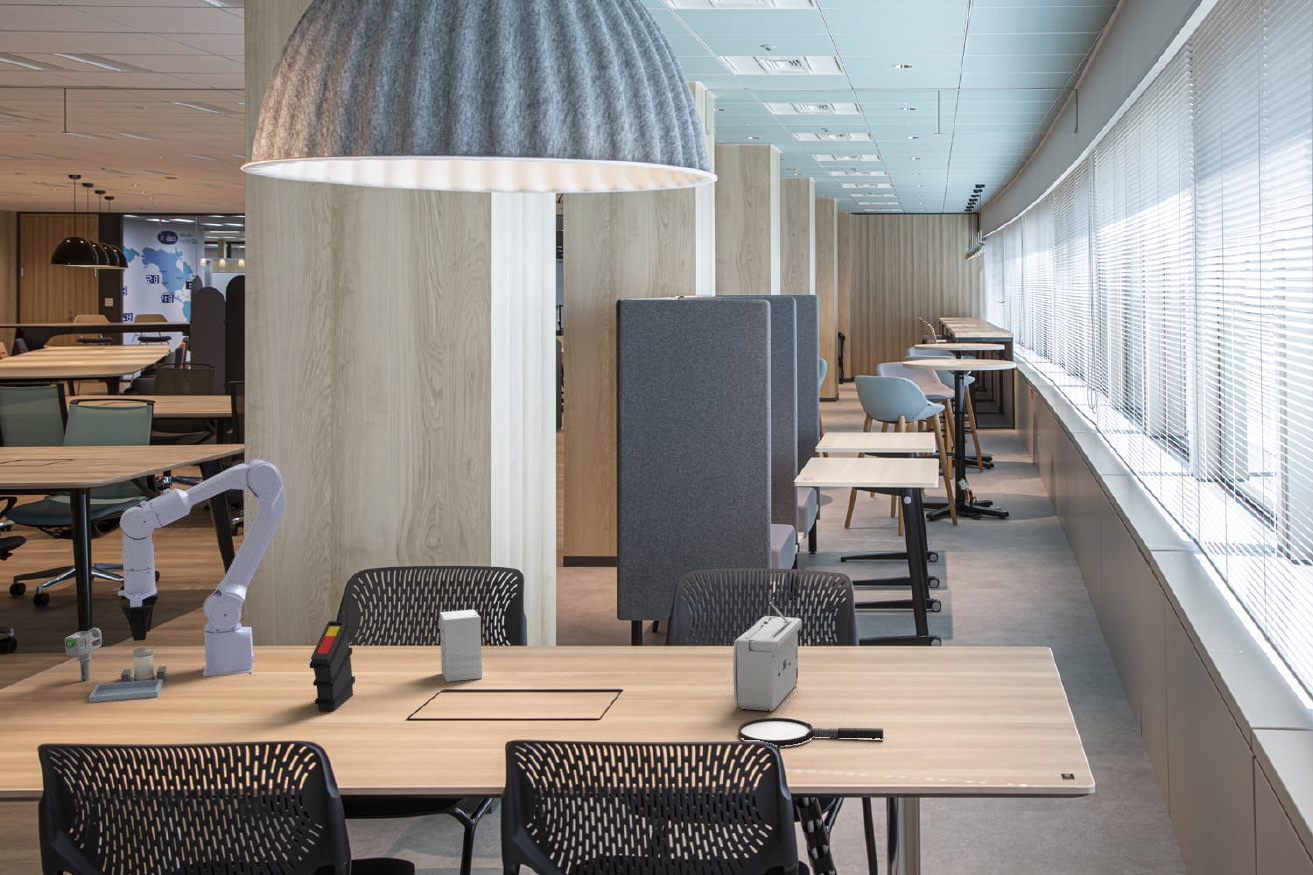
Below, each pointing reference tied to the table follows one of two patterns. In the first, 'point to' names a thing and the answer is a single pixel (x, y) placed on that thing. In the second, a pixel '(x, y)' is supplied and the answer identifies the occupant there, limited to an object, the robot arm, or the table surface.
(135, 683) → the tray
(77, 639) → the mechanical component
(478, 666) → the supplement box
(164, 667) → the holder
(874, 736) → the magnifying glass
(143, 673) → the white cylindrical jar
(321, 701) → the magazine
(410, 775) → the table surface
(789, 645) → the stereo radio cassette player
